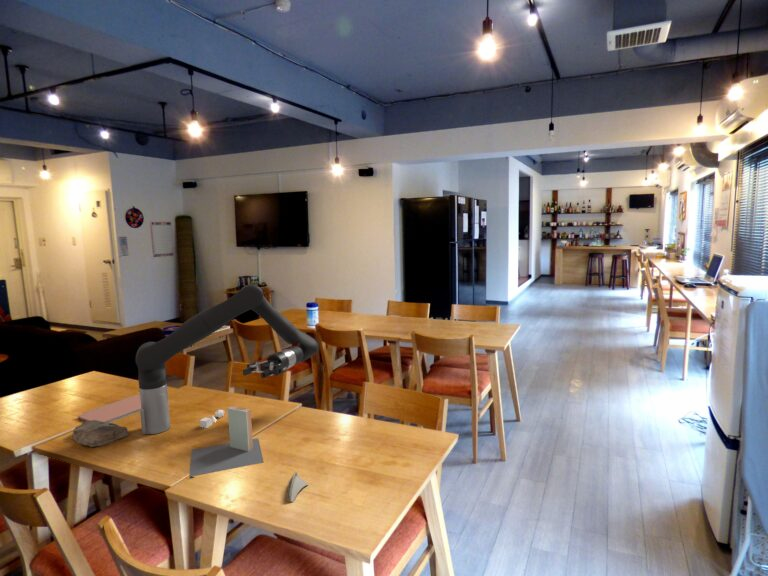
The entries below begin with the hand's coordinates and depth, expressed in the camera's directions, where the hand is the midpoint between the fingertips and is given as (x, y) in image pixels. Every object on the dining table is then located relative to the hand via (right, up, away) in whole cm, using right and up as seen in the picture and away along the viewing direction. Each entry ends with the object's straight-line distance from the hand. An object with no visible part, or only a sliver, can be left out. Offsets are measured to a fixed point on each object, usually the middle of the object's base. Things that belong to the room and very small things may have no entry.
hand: (252, 374), depth 160 cm
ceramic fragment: (+20, -29, -27) cm, 44 cm away
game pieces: (-21, -23, +19) cm, 36 cm away
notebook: (-64, -22, +32) cm, 75 cm away
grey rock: (-60, -25, +8) cm, 65 cm away
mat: (-6, -26, -9) cm, 28 cm away
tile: (-3, -24, -4) cm, 25 cm away
